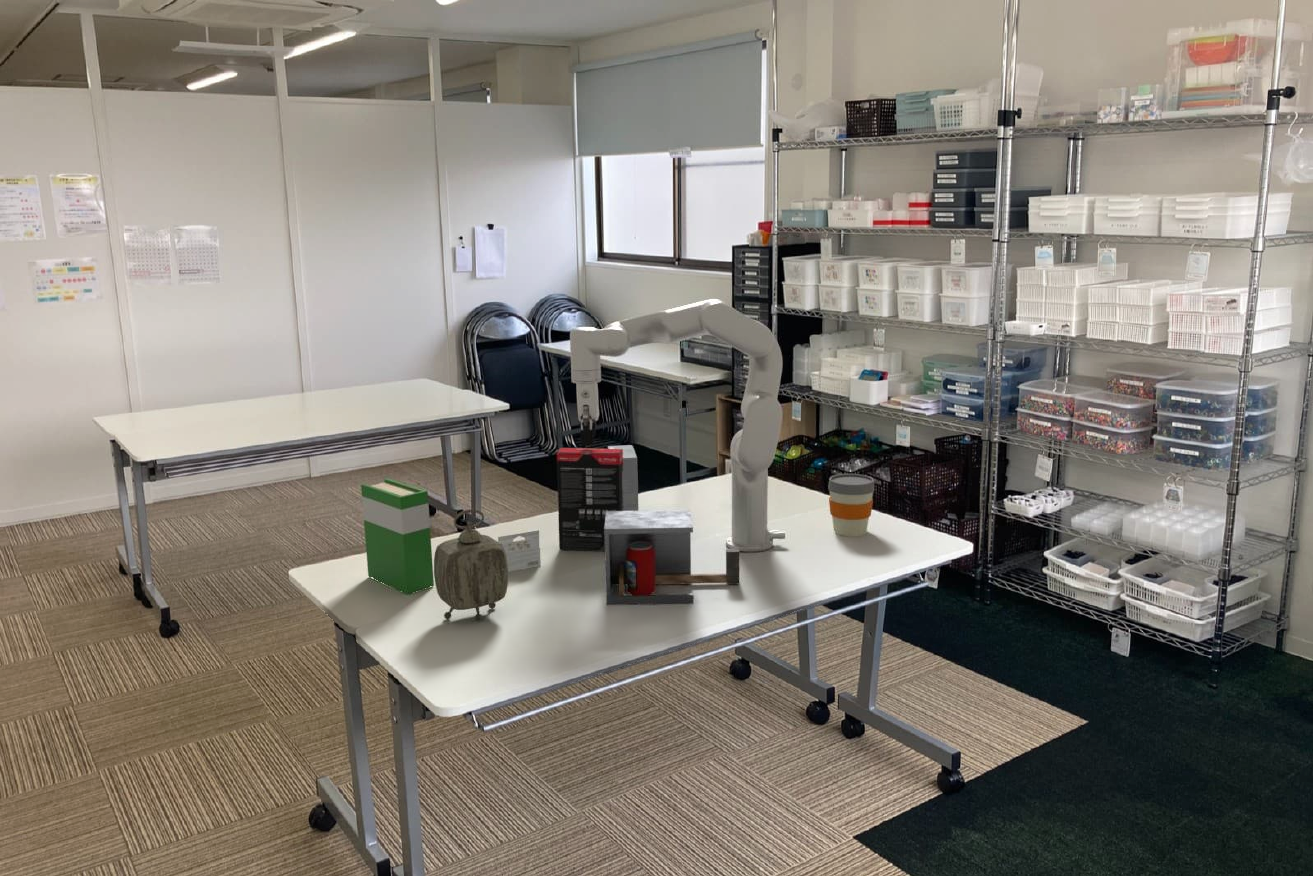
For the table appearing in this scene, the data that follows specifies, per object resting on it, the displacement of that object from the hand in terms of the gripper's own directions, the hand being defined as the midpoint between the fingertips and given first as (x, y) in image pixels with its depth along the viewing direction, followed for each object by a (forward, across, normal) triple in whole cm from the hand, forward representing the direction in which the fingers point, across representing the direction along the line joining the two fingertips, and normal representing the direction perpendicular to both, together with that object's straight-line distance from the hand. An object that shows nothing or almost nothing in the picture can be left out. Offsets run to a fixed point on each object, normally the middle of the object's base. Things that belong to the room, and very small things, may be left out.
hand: (588, 441), depth 268 cm
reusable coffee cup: (+30, +13, -71) cm, 78 cm away
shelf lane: (+30, -32, -15) cm, 46 cm away
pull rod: (+29, -31, -23) cm, 48 cm away
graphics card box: (+30, +2, 0) cm, 30 cm away
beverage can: (+30, -32, -13) cm, 46 cm away
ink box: (+30, -13, +18) cm, 37 cm away
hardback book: (+30, -21, +46) cm, 59 cm away
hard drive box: (+30, +30, -8) cm, 43 cm away
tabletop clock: (+30, -45, +23) cm, 59 cm away
